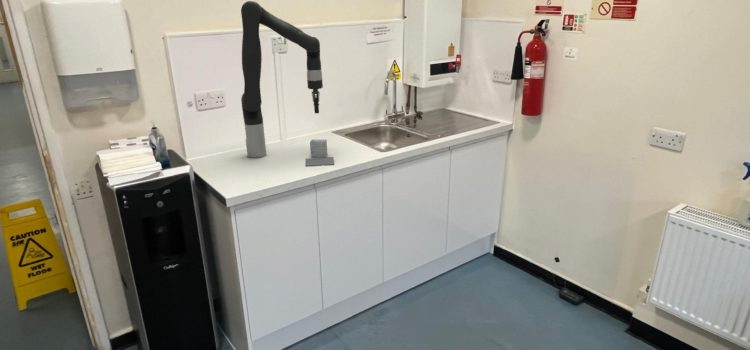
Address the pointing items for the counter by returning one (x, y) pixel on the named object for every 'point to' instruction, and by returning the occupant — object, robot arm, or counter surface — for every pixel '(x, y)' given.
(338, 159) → the counter surface
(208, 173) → the counter surface
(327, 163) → the mat
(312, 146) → the medicine box
